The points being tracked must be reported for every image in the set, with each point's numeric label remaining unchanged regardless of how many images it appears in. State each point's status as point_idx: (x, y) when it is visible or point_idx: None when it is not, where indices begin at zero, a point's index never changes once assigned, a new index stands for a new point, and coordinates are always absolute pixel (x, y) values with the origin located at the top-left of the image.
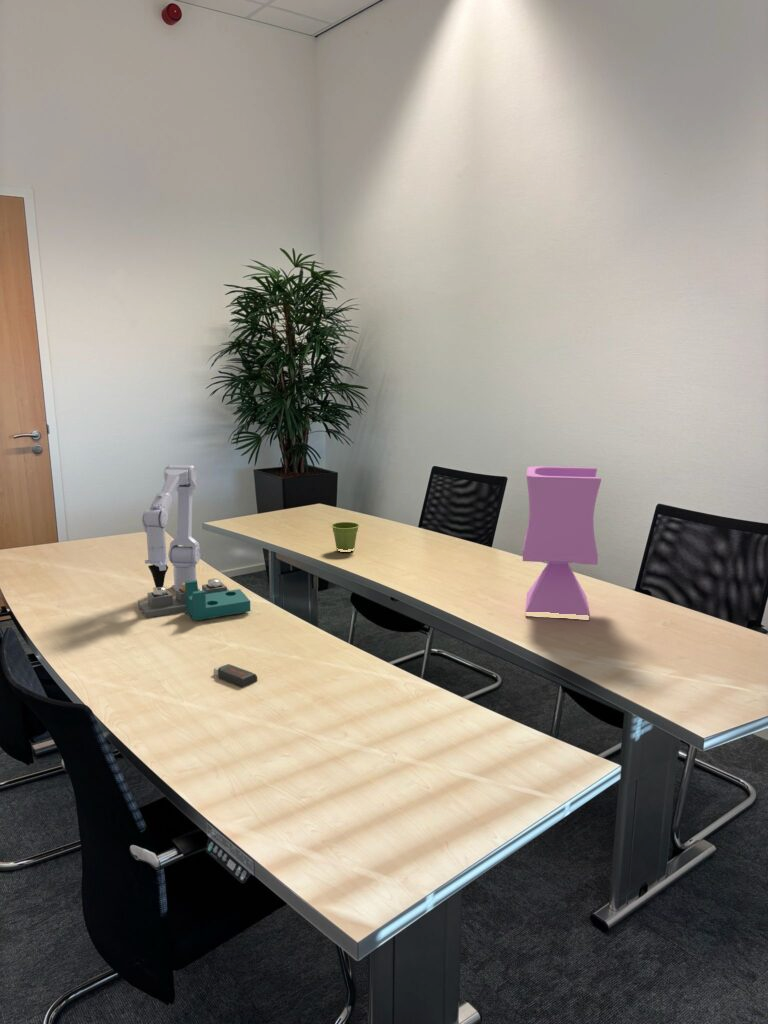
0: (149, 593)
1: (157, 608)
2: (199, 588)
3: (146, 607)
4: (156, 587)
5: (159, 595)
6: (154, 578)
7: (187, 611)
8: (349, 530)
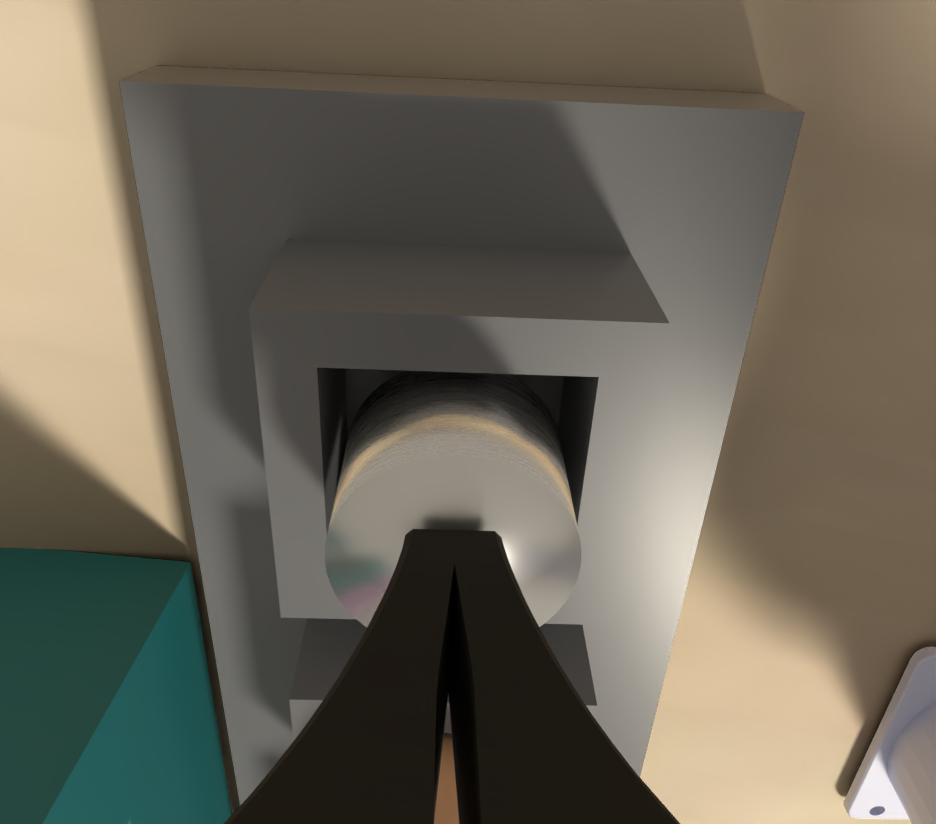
0: (603, 347)
1: (241, 303)
2: (862, 814)
3: (375, 161)
4: (427, 530)
5: (343, 461)
6: (337, 687)
7: (99, 578)
8: None
